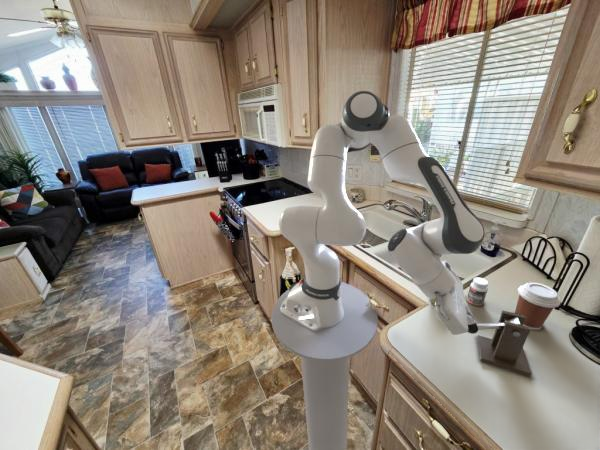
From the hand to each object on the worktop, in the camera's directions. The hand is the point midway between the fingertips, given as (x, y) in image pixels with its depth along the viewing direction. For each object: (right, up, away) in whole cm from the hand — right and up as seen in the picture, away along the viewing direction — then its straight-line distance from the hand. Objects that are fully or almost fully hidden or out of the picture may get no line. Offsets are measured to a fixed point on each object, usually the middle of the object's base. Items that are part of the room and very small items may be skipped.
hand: (471, 320), depth 66 cm
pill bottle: (+14, -1, +18) cm, 23 cm away
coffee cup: (+24, -4, +9) cm, 26 cm away
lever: (+4, -2, -2) cm, 5 cm away
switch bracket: (+8, -9, 0) cm, 12 cm away
